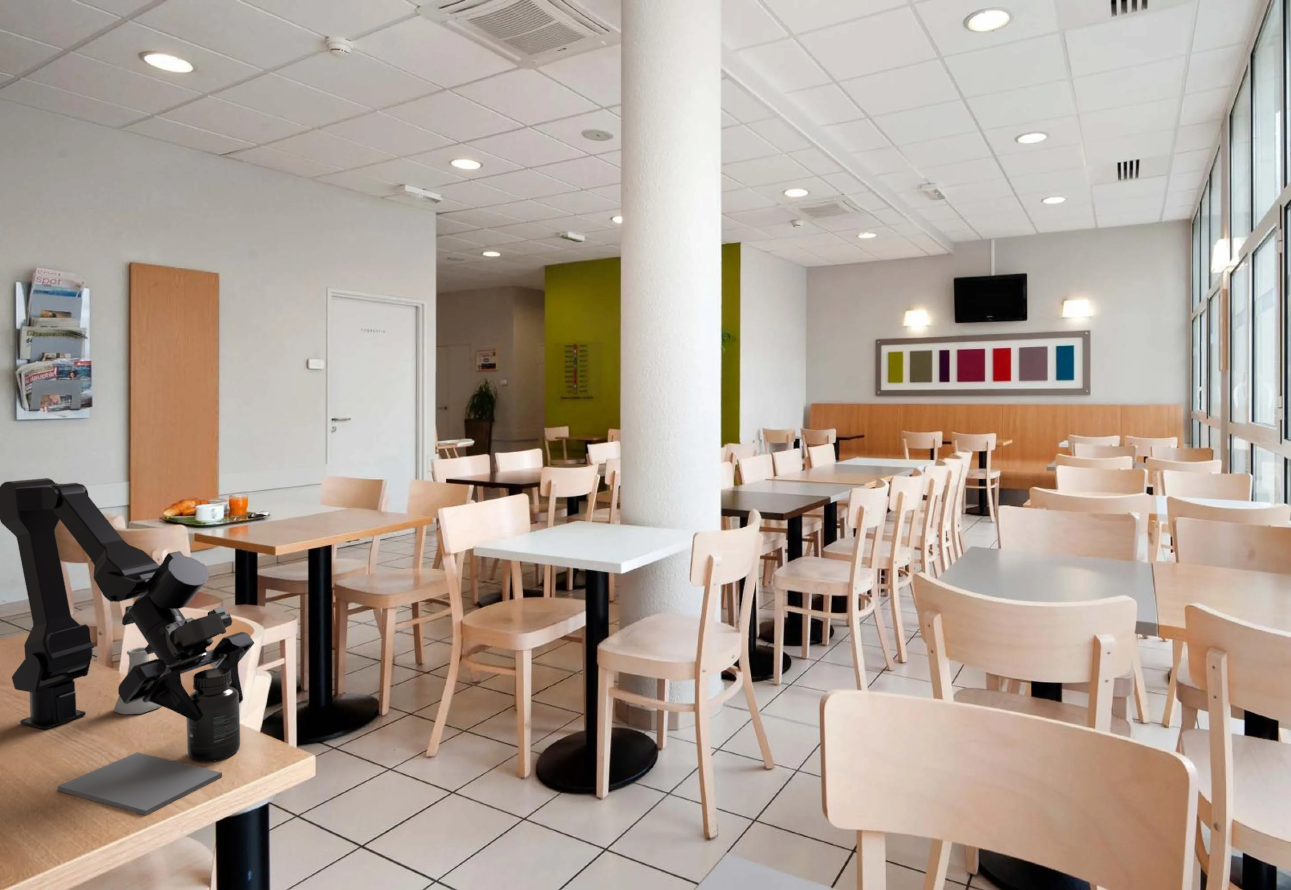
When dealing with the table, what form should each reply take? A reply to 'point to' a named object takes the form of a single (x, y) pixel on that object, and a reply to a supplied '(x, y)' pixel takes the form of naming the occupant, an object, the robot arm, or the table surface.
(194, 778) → the placemat
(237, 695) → the supplement bottle
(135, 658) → the flask
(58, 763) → the table surface
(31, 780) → the table surface
